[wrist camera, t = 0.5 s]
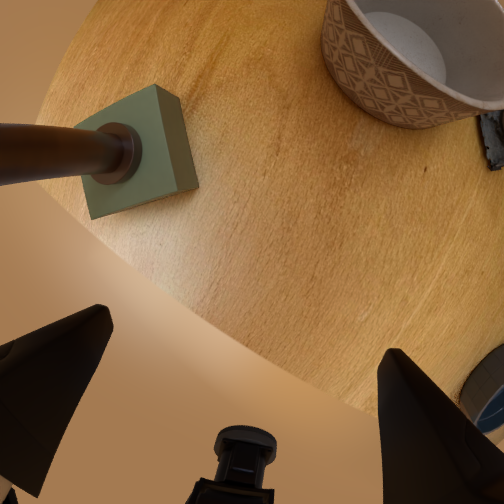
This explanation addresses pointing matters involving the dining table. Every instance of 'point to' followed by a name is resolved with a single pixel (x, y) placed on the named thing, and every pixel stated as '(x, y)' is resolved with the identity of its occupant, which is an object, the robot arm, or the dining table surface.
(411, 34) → the planter
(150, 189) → the stand
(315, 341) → the dining table surface
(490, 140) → the beverage can
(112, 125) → the brown flanged post
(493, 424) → the bowl
